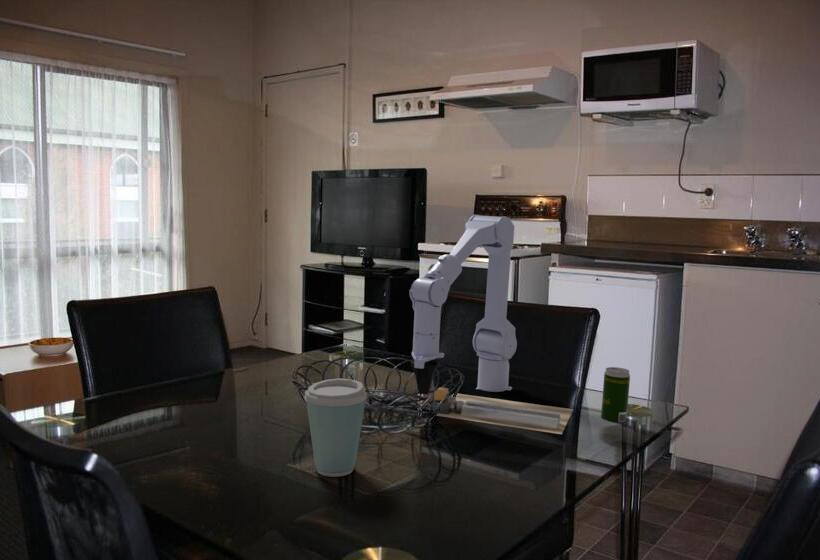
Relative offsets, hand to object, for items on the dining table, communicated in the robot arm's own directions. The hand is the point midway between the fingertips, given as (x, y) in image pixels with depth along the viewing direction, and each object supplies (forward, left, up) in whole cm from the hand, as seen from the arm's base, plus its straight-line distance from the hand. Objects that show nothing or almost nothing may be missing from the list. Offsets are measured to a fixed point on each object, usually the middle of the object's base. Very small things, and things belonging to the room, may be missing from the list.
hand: (423, 393), depth 157 cm
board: (-5, +17, -4) cm, 18 cm away
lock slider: (0, +4, -1) cm, 4 cm away
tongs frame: (0, +16, -3) cm, 17 cm away
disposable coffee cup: (+39, -3, -4) cm, 39 cm away
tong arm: (-1, +18, -3) cm, 19 cm away
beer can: (-12, +40, -4) cm, 42 cm away
